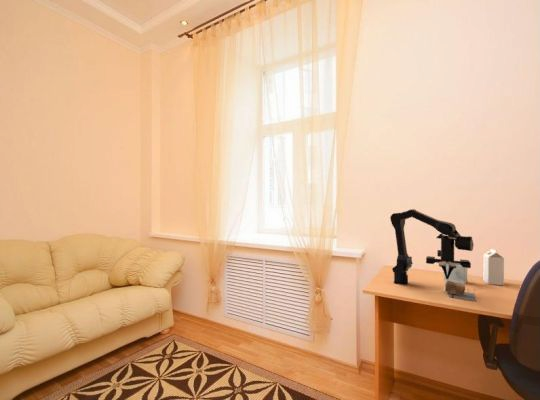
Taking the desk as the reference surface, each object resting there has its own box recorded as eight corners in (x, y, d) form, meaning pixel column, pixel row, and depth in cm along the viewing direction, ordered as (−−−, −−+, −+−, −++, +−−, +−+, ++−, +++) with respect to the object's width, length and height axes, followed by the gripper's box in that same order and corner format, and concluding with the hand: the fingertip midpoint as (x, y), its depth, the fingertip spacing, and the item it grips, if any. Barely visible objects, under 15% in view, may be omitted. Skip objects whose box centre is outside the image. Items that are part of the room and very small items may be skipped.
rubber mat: (453, 297, 134) (453, 297, 134) (452, 290, 144) (452, 290, 144) (476, 301, 129) (476, 301, 129) (473, 293, 139) (473, 293, 139)
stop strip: (448, 297, 135) (448, 295, 135) (447, 289, 145) (447, 288, 145) (451, 297, 134) (451, 295, 134) (450, 290, 144) (450, 288, 144)
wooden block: (446, 282, 138) (465, 287, 134) (445, 280, 142) (464, 285, 138) (444, 291, 139) (463, 296, 135) (443, 288, 143) (462, 293, 139)
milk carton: (497, 281, 158) (498, 248, 158) (503, 285, 151) (504, 250, 151) (483, 280, 160) (483, 247, 160) (488, 284, 154) (488, 250, 153)
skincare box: (443, 280, 162) (443, 262, 162) (446, 277, 166) (446, 260, 166) (464, 284, 154) (464, 265, 154) (467, 282, 158) (467, 263, 158)
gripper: (468, 247, 142) (468, 277, 142) (426, 243, 151) (426, 272, 152) (471, 251, 132) (470, 283, 133) (426, 247, 142) (425, 277, 142)
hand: (447, 278), depth 140 cm, fingers closed
